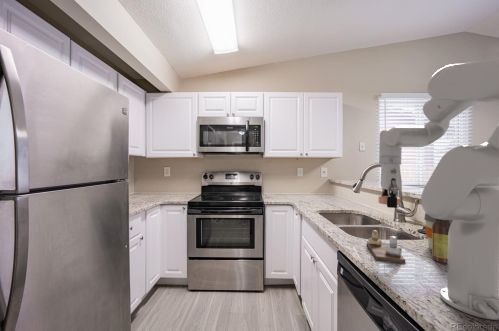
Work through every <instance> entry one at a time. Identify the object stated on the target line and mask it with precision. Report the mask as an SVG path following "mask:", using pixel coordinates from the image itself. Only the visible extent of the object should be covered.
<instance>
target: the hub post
mask: <svg viewBox="0 0 499 331" xmlns="http://www.w3.org/2000/svg"><path fill="white" fill-rule="evenodd" d="M368 241H369V245H372V246H382V243H383V242H382V240H381V239H380V238H379V233H378V230H376V229H372V232H371V237H370V238H368Z"/></svg>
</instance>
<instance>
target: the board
mask: <svg viewBox="0 0 499 331" xmlns="http://www.w3.org/2000/svg"><path fill="white" fill-rule="evenodd" d="M366 245H367V247H368V249H369V250H370V251H371V252H370V253H372V256H373V257H374V258H375V261H379V262H380V261H381V262H388V263H395V264H396V263H397V264H406V259H405V257H404V256H403V255H402V254H401V257H399V258H395V257H390V256H388V255H386V245H390V242H388V243H387V242H382V246H372V245H369V240H367V241H366Z"/></svg>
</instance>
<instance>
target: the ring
mask: <svg viewBox="0 0 499 331" xmlns="http://www.w3.org/2000/svg"><path fill="white" fill-rule="evenodd" d="M387 197H388V196H382V195H379V196H378V204H382V205H386V206H387ZM400 205H401V197H398V196H397V206H400Z"/></svg>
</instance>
